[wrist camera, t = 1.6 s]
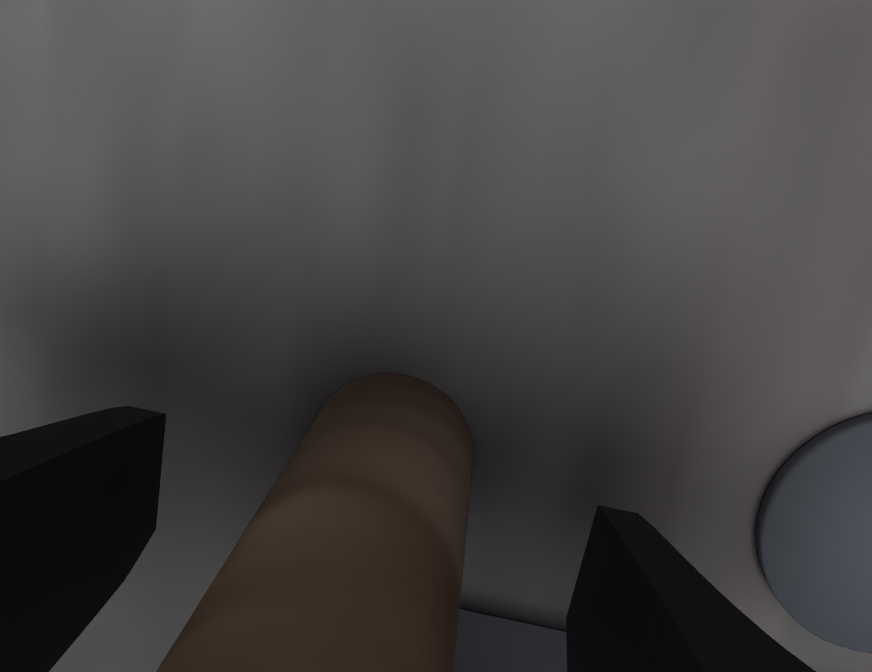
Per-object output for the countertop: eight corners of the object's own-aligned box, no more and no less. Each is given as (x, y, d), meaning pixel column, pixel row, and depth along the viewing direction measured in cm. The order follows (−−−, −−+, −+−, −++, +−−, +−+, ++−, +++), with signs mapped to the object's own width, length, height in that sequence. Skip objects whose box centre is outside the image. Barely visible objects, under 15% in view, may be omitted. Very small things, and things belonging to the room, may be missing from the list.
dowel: (301, 505, 14) (1, 1077, 6) (324, 357, 14) (11, 774, 5) (456, 537, 14) (383, 1168, 6) (488, 392, 14) (460, 875, 5)
